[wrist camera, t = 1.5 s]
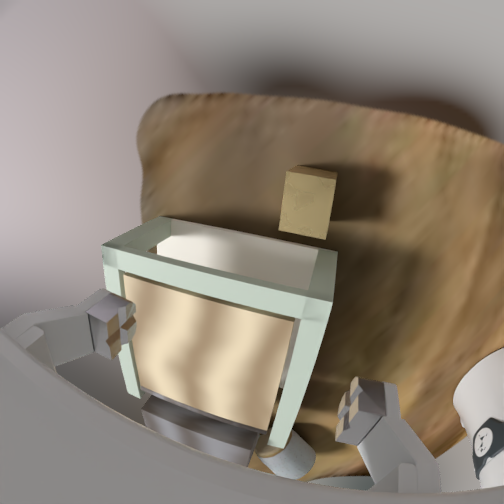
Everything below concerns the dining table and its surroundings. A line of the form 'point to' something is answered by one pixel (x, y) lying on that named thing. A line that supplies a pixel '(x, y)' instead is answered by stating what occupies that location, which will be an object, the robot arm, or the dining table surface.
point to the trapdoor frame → (234, 289)
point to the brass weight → (307, 201)
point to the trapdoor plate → (207, 367)
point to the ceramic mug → (286, 456)
